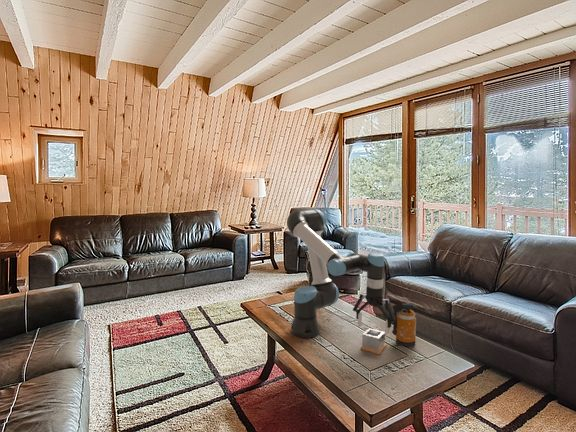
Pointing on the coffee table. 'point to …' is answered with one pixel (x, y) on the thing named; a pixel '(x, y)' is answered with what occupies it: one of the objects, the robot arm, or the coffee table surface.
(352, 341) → the coffee table surface
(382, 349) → the block
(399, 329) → the canister
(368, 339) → the grey hollow block
